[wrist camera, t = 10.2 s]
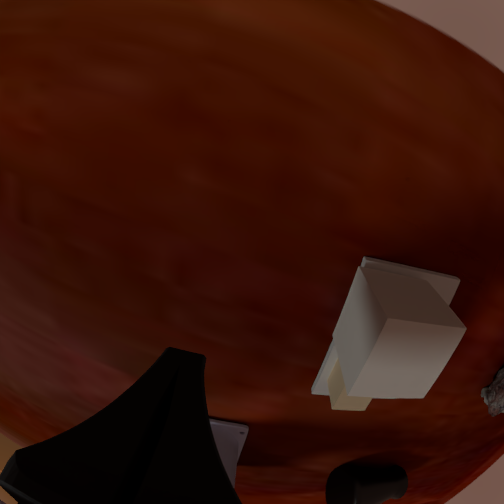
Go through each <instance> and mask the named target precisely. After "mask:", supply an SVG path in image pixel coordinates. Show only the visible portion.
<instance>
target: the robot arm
mask: <svg viewBox="0 0 504 504" xmlns="http://www.w3.org/2000/svg"><path fill="white" fill-rule="evenodd" d="M205 363H206V357H205V356H204V355H202V354H197V353H193V352H189V351H185V350H180V349H176V348H172V347H168V348H166V350H165V351H164V352H163V353H162V355H161V356H160V357H159V358H158V359H157V360H156V362H155V363H154V364H153V365H152V366H151V367H150V368H149V369H148V370H147V371H146V372H145V373H144V374H143V375H142V376H141V377H140V378H139V379H138V380H137V381H136V382H135V383H134V384H133V385H132V386H131V387H130V388H128V389H127V390H126V391H125V392H124V393H123V394H121V395H120V396H119V397H118V398H117V399H116V400H114V401H113V402H112V403H110V404H109V405H108V406H106V407H105V408H104V409H102V410H101V411H99V412H98V413H96V414H95V415H93V416H92V417H90V418H88V419H87V420H85V421H84V422H82V423H80V424H79V425H77V426H75V427H73V428H71V429H69V430H67V431H65V432H63V433H61V434H59V435H57V436H54V437H52V438H50V439H48V440H45V441H43V442H40V443H37V444H34V445H31V446H28V447H25V448H22V449H19V450H16V451H15V453H14V454H13V456H12V457H11V458H10V459H9V460H8V462H7V464H6V466H5V467H4V469H3V471H2V473H1V474H0V486H1V487H2V488H3V489H4V490H5V491H6V492H7V493H9V494H10V495H11V496H12V497H13V498H14V499H15V500H16V501H17V502H18V504H242V503H241V501H240V499H239V497H238V496H237V494H236V492H235V490H234V485H235V475H236V466H237V462H238V459H239V456H240V453H241V451H242V448H243V445H244V442H245V440H246V437H247V434H248V431H249V427H248V426H247V425H243V424H237V423H231V422H225V421H220V420H214V419H209V416H208V410H207V404H206V396H205V387H204V369H205ZM0 504H5V503H4V502H3V501H1V500H0Z"/></svg>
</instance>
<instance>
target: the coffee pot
mask: <svg viewBox="0 0 504 504" xmlns="http://www.w3.org/2000/svg"><path fill="white" fill-rule="evenodd" d="M407 487H408V478H407V474H406V472H405V470H404V469H403V468H402V467H400V466H398V465H394V466H392V467H391V468H389V469H387V470H381V469H371V468H363V467H356V466H349V465H340V466H339V467H337V468H335V469H334V470H333V471H332V472H331V473H330V475H329V477H328V480H327V484H326V492H325V494H326V502H327V504H381V503H383V502H384V501H386V500H388V499H389V498H392V499H399V498H401V497H402V496H403V495H404V494H405V492H406V490H407Z"/></svg>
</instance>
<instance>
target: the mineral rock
mask: <svg viewBox="0 0 504 504" xmlns="http://www.w3.org/2000/svg"><path fill="white" fill-rule="evenodd" d="M481 397H484V402H485V403H486V404H487V405H488V408H489V410H488V411H489V414H490V415H492V416H496V415H497V414H499V413H501V412H503V413H504V367H503V368H502V369H501V370H499V371H498V373H497V375H496V377H495V379H494V380H493V382H492V383H491V385H490V387H485V388H483V390H482V391H481Z"/></svg>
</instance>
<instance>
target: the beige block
mask: <svg viewBox="0 0 504 504" xmlns="http://www.w3.org/2000/svg"><path fill="white" fill-rule="evenodd" d="M466 329H467V328H466V327H465V326H464V324H463V323H462V322H461V320H460V319H459V318H458V317H457V315H456V314H455V313H454V312H453V311H452V309H451V308H450V307H449V306H448V305H447V303H446V302H445V301H444V300H443V299H442V297H441V296H440V295H439V294H438V293H437V292H436V290H435V289H434V288H433V287H432V286H431V285H430V283H429V282H428V281H427V280H422V279H418V278H413V277H408V276H404V275H399V274H394V273H389V272H385V271H380V270H375V269H370V268H366V267H361V266H358V269H357V272H356V275H355V278H354V280H353V283H352V286H351V289H350V291H349V294H348V297H347V299H346V302H345V305H344V307H343V310H342V312H341V315H340V318H339V320H338V323H337V325H336V328H335V330H334V332H333V339H334V343H335V347H336V351H337V355H338V359H339V363H340V367H341V371H342V375H343V379H344V384H345V388H346V392H347V396H357V397H377V398H424V396H425V395H426V393H427V392H428V391H429V389H430V388H431V386H432V385H433V383H434V382H435V380H436V379H437V377H438V376H439V374H440V373H441V371H442V370H443V368H444V367H445V365H446V363H447V362H448V360H449V359H450V357H451V355H452V354H453V352H454V350H455V349H456V347H457V345H458V344H459V342H460V340H461V338H462V337H463V335H464V333H465V331H466Z"/></svg>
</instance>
